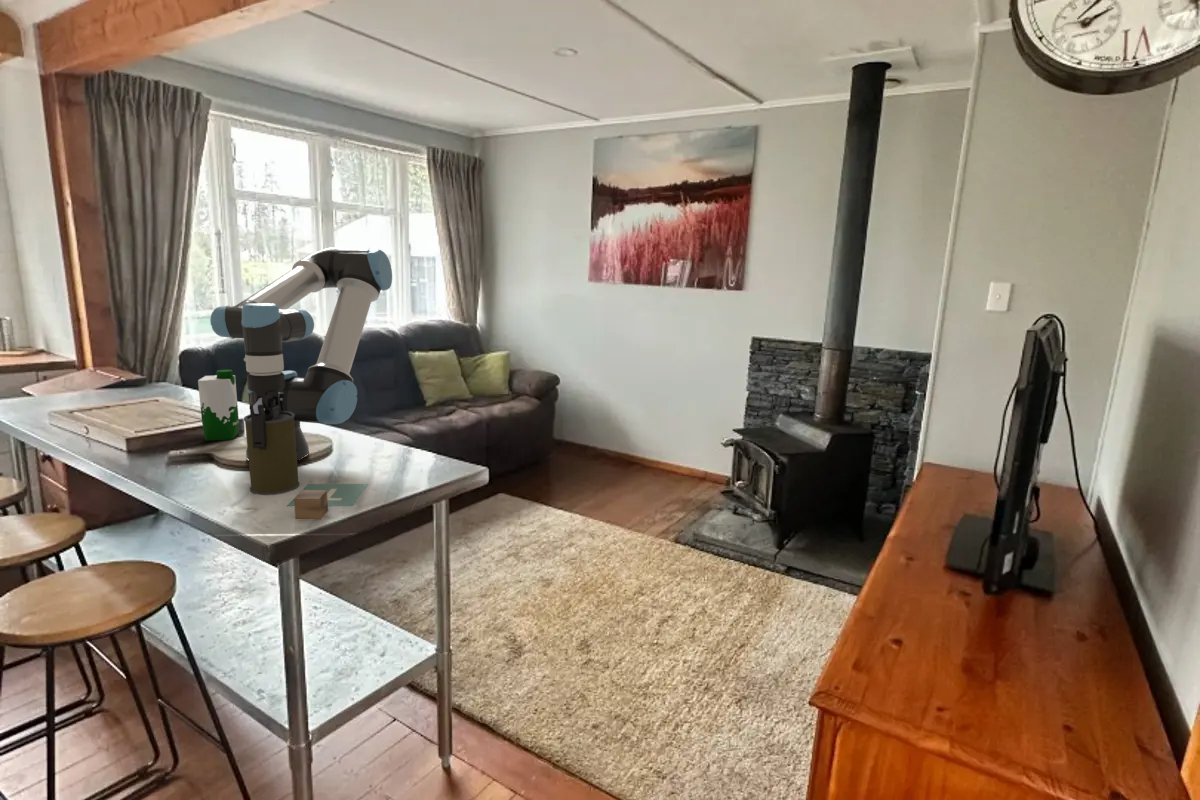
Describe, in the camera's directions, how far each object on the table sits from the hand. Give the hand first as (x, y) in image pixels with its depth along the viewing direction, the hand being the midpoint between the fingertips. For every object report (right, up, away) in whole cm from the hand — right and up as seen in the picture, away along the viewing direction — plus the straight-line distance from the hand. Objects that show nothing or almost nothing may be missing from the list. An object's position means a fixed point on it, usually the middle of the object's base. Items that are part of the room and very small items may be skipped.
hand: (273, 469), depth 146 cm
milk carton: (-36, +5, +39) cm, 53 cm away
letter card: (+14, -6, -2) cm, 16 cm away
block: (+15, -9, -14) cm, 22 cm away
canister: (0, -5, +1) cm, 5 cm away
